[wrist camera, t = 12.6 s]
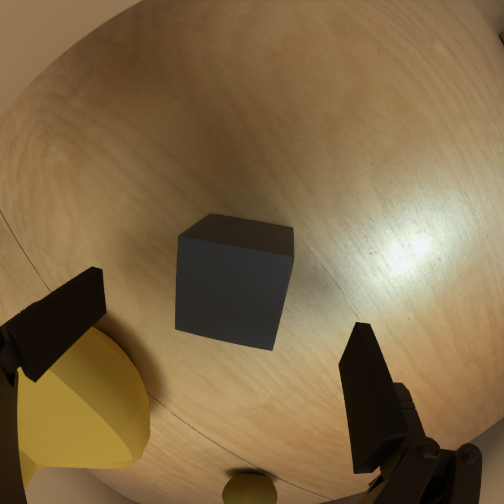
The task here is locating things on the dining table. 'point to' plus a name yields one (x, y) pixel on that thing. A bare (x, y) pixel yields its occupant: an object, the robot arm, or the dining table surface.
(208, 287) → the slate block
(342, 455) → the dining table surface
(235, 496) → the apple
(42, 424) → the vase
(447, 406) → the dining table surface
